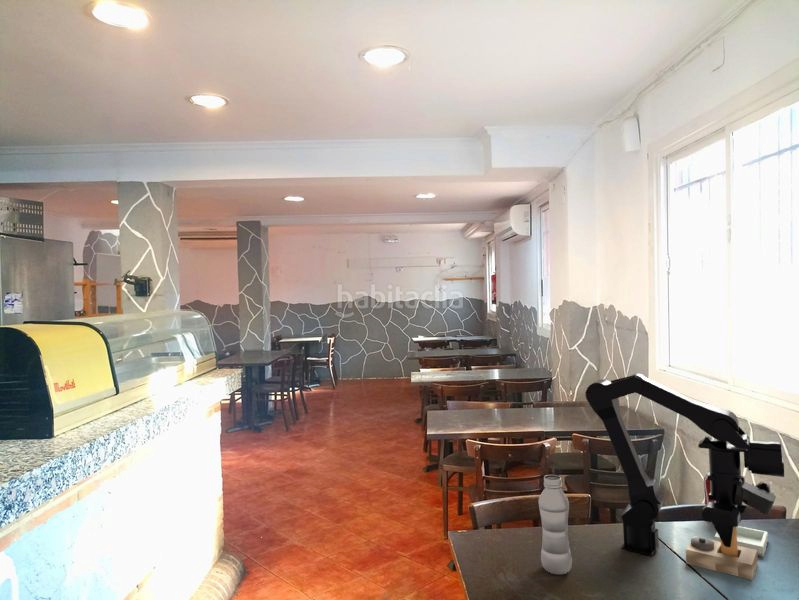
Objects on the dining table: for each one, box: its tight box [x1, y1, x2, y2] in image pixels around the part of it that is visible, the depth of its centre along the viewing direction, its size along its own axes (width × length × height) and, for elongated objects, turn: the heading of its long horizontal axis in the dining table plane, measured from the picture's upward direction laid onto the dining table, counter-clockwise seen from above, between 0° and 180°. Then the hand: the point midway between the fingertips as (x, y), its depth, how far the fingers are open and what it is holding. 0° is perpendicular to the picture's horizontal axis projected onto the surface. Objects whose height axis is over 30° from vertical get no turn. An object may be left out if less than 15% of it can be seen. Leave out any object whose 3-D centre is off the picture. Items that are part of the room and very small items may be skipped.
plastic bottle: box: [537, 474, 573, 576], centre depth 113 cm, size 6×7×20 cm
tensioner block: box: [685, 535, 759, 581], centre depth 113 cm, size 12×8×4 cm, turn 50°
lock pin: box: [721, 527, 738, 557], centre depth 112 cm, size 4×4×10 cm
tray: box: [714, 525, 769, 557], centre depth 121 cm, size 9×9×2 cm
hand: (728, 543), depth 112 cm, fingers closed on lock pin, 3 cm apart
